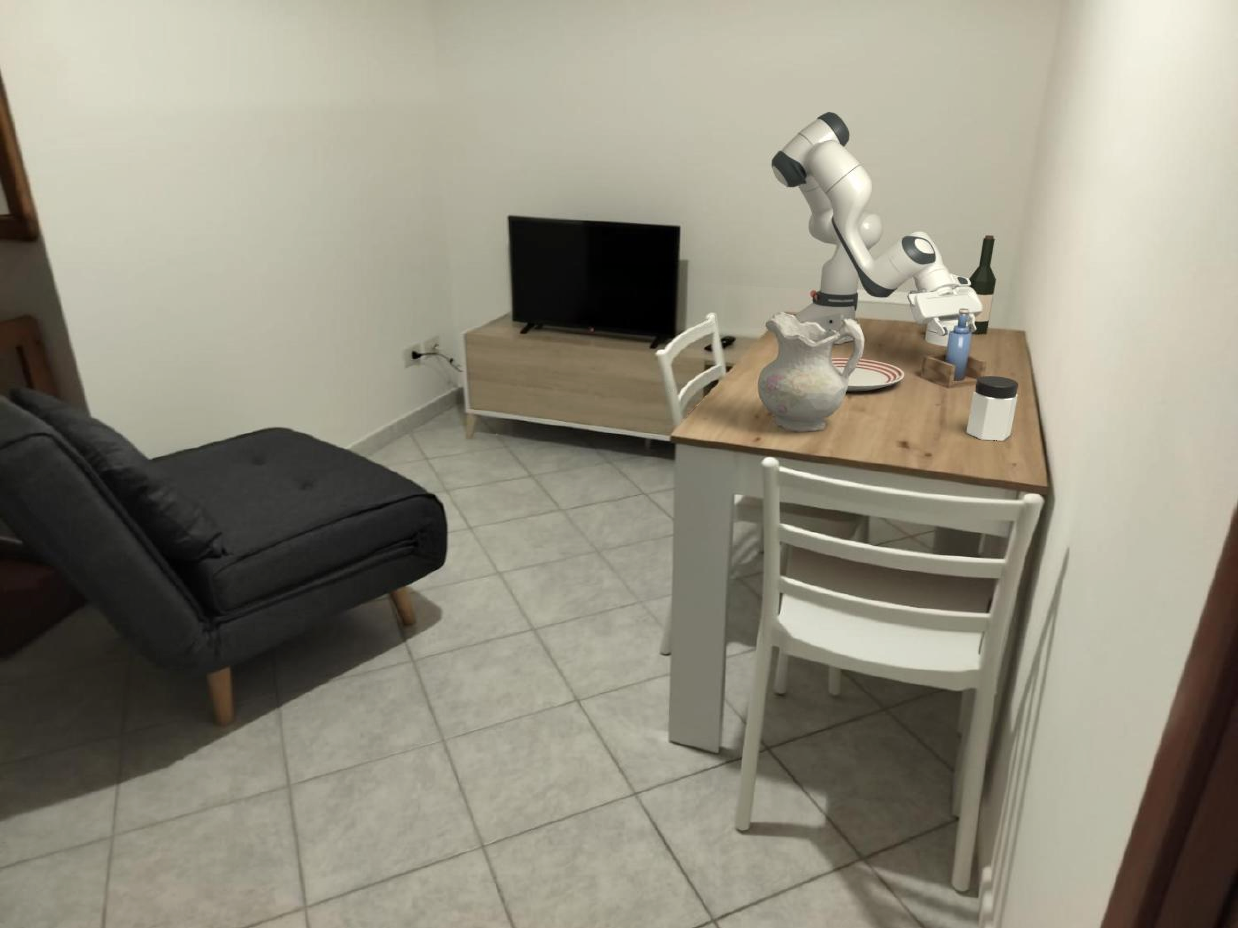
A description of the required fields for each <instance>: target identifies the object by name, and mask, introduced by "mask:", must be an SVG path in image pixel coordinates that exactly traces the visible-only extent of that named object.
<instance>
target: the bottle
mask: <svg viewBox="0 0 1238 928" xmlns="http://www.w3.org/2000/svg"><path fill="white" fill-rule="evenodd" d="M968 313H969V309H964V308H961V309H959V319H958V325H957V326H954V329H953V331H950V332H949V337H948V344H947V346H946V351H945V352H946V357H945V362H946V363H949V364H952V365H955V366H956V367H955V373H954V379H953V381H963V380H965V374H966V368H967V361H968V356H970V355H969V354H970V347H971V343H972V336H973V334H972V333H971V332H968V331H969V327H967V326H966V322H967V316H968Z"/></svg>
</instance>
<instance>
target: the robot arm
mask: <svg viewBox="0 0 1238 928" xmlns="http://www.w3.org/2000/svg"><path fill="white" fill-rule="evenodd" d="M850 134H851V133H850V131H849V128H848V125H847V123H846V122H845V120H844V119H843V118H842V117H841V116H839V115H838V114H837V113H835V112H831V111H827V112H825V113H822V114H821V115H819V116H818V117H817V118H816V120H813V121H812V122H811V123H810V124H807V126H805V127H804V128H802V129H801V130H800V131H799V132H797V134H796V135H795V136H794V137H793V138H792V139H791V140H789V142H788V143H787V144H785V146H784V147H783V148H782V149H781V150H778V151H777V152H776V154H775V155H774V156H773V158H772V159H771V168H772V172H773V175H774V177H775V179H777V181H778V182H779V183H780V184H782V185H784V186H786V188H796V187H798V188H799V191H800V192H801V194H802V196H803V197H804V199H805V200H806V203H807V204H808V206H809V208H810V212H811V215H810V217H809V219H808V231H809V234H810V235H811V237H812V238H814V239H816V240H818V241H820V242H823V243H825V244H829V245H835V250H834V254H833V255H832V257H831V258H830V259H829V260H827V261H826V262H824V264H823V265H822V268H821V276H820V286H819V287H820V288H819V290H818V291H817V290H814V289H813V290H811V291H810V293H809V294H810V297H811V298H812V303H810V304H809V305H807V306H806V307H805V308H803V309H801V310H800V311H798V312H796V314H795V315H794V316H795V317H796V319H797V320H798V322H800V323H802V322H816V323H818V324H819V325H820V326H821V327H822V328H823V329H825V331H832V330H834V331H836V332H837V331H838V330H839V329H840V327H841V326H842V324H843V321H842V320H844V319H852V318H853V319H855V320H856V311H857V308H858V303H859V293H858V285H859V280H860V283H861V285H862V287H863V289H864V291H865V292H866V293H867V294H868V295H870V296H871V297H874V298H879V299H880V298H883V299H885V298H889V297H890V296H891V295H892V294H894V292H896V290H898V288H900V287H901V286H903V285H904V284H905V283H906V282H907V281H908V280H910V279H912V278H913V280H914V284H915V287H916V289H915V290H914V289H912V290H910V291H909V292H908V294H907V296H906V297H907V300H908V302H909V307H910V311H911V314H912V317H913V319H914V322H916V323H917V324H918V325H924V324H926V325H927V323H929V324H930V326H931V327H932V328H933V329H935V330H936V331H937V332H938V334H939V336H945V335H946V334H948V331H947V329H946V327H943V326H942V325H941V324H940V323H939V322H943V321H952V320H958V319H959V309H961V308H964V309H969V313H968V316H967V322H968V326H967V327H969V331H968V332H974V331H975V330H976V326H975V324H974V323H975V317H977V316H978V315H979V314H980V313H981V312H982V310H983V306H982V303H981V301H980V299H979V297H978V295H977V294H976V292H975V291H974V289H972V288H971V287H969V286H970V285H971V282H970V280H969V278H968V277H965V276H960V275H956V274H954V273H951V272H950V270H949V269H948V267H947V266H946V265H945V264H944V261H943V257H942V254H941V252H940V250H939V248H938V247H937V245H936V243H935V242H934V241H933V238H931V237H930V235H929V234H927V232H924V231H921V230H920V231H914V232H910V233H909V234H907V235H905V236H903V237H902V238H900V239H899V240H897V241H896V242H895V243H893V244H892V245H891V246H889V248H888V249H886V250H885V251H884V252H882V253H881V254H880V255H879V256H878V257H876V258H875V259H874V258H873V257H872V255H871V254H870V252H869V251H870V249H872V248H873V247H874V246H875V245H877V244H878V243H879V241H880V240H881V239H882V236H883V232H884V223H883V219H882V218H881V217H880V215H879V214H877V213H874V212H871V211H870V210H867V207H868V205H869V202H870V200H871V197H872V193H873V181H872V179H871V177H870V175H869V174H868V172H867V171H866V169H865V168H864V167H863V166H862V164H861V163H860V162H859V161H858V160H857V158H856V157H854V155H853V154H852V153H851V152H850V151H849V150H848V149H847V148H846V146H847V144H848V143H849V140H850V136H851V135H850ZM852 341H853V342H854V339H853V338H852V337H850V336H847V337H843V338H841V339H840V340H839V341H837V342H835V343H834V344H836V345H840V344H841V345H842V344H844V343H847V342H848V343H849V342H852ZM834 344H833V345H834Z"/></svg>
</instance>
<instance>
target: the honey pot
mask: <svg viewBox="0 0 1238 928" xmlns="http://www.w3.org/2000/svg"><path fill="white" fill-rule="evenodd" d="M939 323H940V324H941V325H942V326H943V327H946V329H947V331H948V334H946V335H945V336H939V334H938V332H937V331H936V330H935V329H933V328H932V327H931V326H930V324H929V323H926V325H927V326H926V332H925V337H924V338H925V339H924V341H925V342H926V343H929V344H932V345H935V346H942V347H947V344H948V337H949V332H950V331H953V329H954V326H957V325H958V320H952V321H943V322H939ZM966 326H968V322H966Z"/></svg>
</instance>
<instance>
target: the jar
mask: <svg viewBox="0 0 1238 928" xmlns="http://www.w3.org/2000/svg"><path fill="white" fill-rule="evenodd" d="M1018 390H1019V383H1018V382H1017V380H1015V379H1011V378H1009V377H1004V376H1003V377H1002V376H997V375H996V376H993V375H984V377H980V378H978V379H977V383H976V384H975V390H974V391H973V392H972V396H971V397H972V398H971V403H970V409H969V416H968V421H967V426H966V433H967V435H970V436H972V437H974V436H975V438H976V437H977V439H979V440H981V441H993V440H995V441H996V440H997V441H996V442H1004V441H1005V440H1006V439H1008V438H1009V437H1010V436H1011V432H1012V428H1013V423H1014V422H1013V421H1014V417H1015V412H1016V407H1017V401H1018V396H1019V395H1018ZM995 441H994V442H995Z"/></svg>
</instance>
